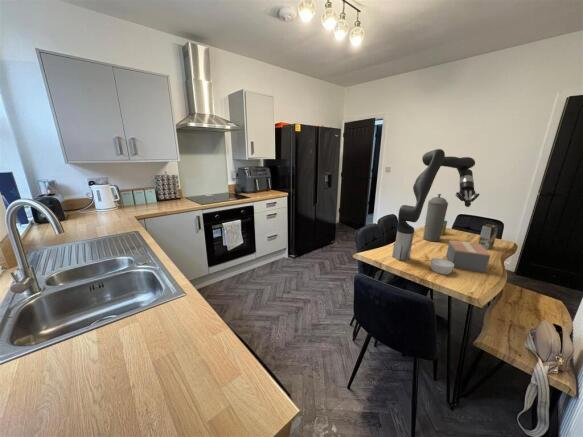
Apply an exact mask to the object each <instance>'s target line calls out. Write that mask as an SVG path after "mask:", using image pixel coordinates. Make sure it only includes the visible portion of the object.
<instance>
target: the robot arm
mask: <svg viewBox="0 0 583 437" xmlns="http://www.w3.org/2000/svg"><path fill="white" fill-rule="evenodd" d="M421 158H422V159H421V160H422V162H423V164H424V165H425V166H427V167H426V168H425V169H424V170H423V171H422V172H421V173H419V175H418V176H417V178H416V179H415V181H414V184H413V186H412V190H413V193H414V197H415V199H416V201H415V202H416V204H415V205H407V204H405V205H404V204H403V205H401V206H400V208H399V209H398V217H397V229H396V230H397V231H396V237H395V242H393V249H392V257H393V258H395V259H396V260H398V261H403V262H404V261H409V260H410V259H411V253H412V246H413V240H414V235H415V228H414V227H413V226H412V225H410V224H409V223H408V222H410V223H416V222H418V220H419V219H420V216H421V214H422V210H423V207H424V206H425V205H424V204H425V202H426V199H427V197H428V195H429V193H430V190H431V188H432V186H433V183H434V180H435V179H436V176H437V174H438V172H439V170H440V169H441V167H446V168H447V167H448V168H452V169H456V170H457V173H458V175H459V192H458V191H457V192H456V193H455V197H456V198H457V199H459V200H460V201H461V202H464V206H465V207H466V208H469V207H471V205H472V203H473V202H474V201H475V200H476V199H478V198H479V196H480V193H476V190H475V183H474V176H473V170H472V168H473V167H474V166H476V161H475V159H474V158H472V157H469V156H466V157H465V156H464V157H457V156H446V153H445V151H444V150H443V149H441V148H436V149H433V150H430V151H428V152H425V153H424V154H423V155H422V157H421Z"/></svg>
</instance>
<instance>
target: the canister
mask: <svg viewBox="0 0 583 437" xmlns="http://www.w3.org/2000/svg"><path fill="white" fill-rule="evenodd" d="M441 195H442V193H437V196H435V197H432V198H431V199H429V200H428V202H427V209H426V215H425V216H426V217H425V222H424V230H423V236H422V237H423V239H424V240H425V241H428V242H439V241H440V239H441V236H442V235H441V232H442V228H443V224H444V220H445V221H446V216H447V210H448V206H449V202H448V201H447V199H446V198H444V197H441Z"/></svg>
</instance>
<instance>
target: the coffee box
mask: <svg viewBox="0 0 583 437" xmlns="http://www.w3.org/2000/svg"><path fill="white" fill-rule="evenodd" d="M498 232H499V225H496V224H493V223H492V224H490V223H487V224H483V225H482V228H481V231H480V235H479V240H478V243H477V244H481V245H482V246H483V247H484V249H485V250H486V251H488V250H491V249H493V248H494V246H495V243H496V242H495V241H496V238H497V235H498Z"/></svg>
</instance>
